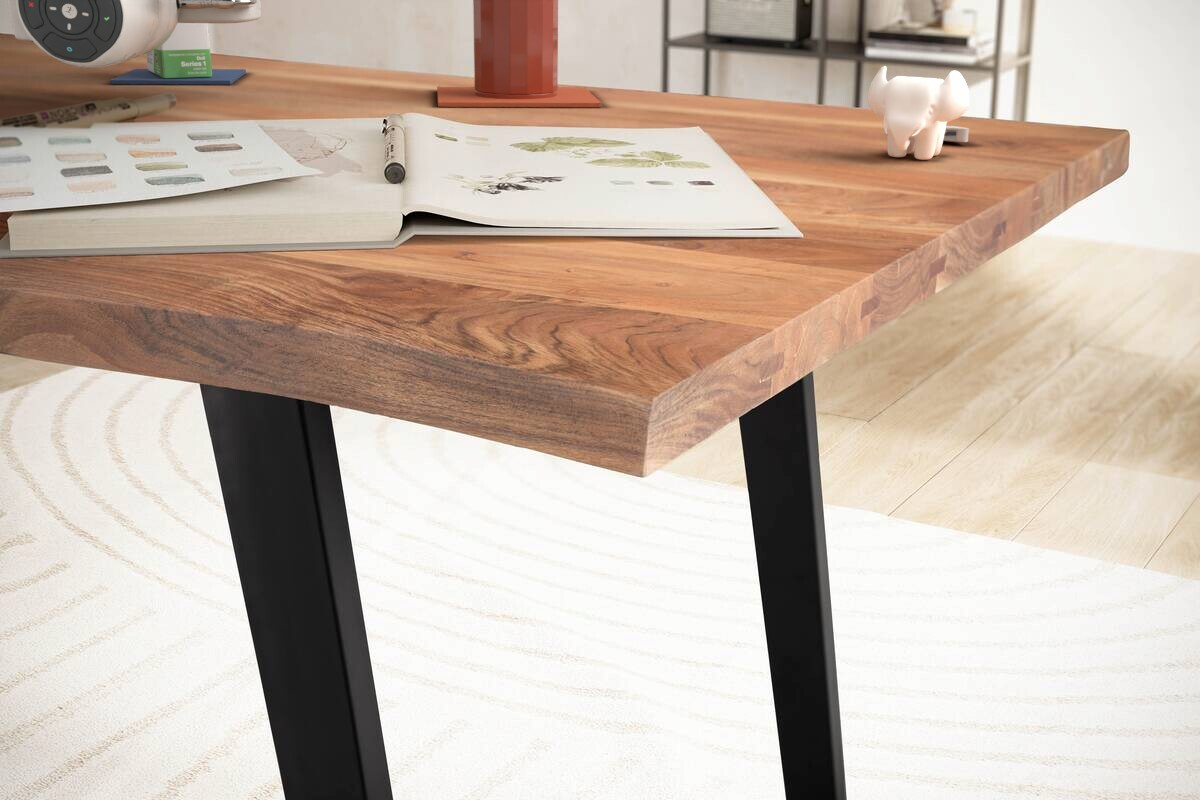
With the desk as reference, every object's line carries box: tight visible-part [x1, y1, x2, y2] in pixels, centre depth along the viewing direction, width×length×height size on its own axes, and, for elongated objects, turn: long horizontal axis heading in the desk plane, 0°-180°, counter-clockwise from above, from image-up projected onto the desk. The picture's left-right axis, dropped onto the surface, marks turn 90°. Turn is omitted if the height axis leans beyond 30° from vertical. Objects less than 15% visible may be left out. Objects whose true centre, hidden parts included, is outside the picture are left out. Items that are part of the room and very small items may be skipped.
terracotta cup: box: [472, 0, 559, 99], centre depth 114 cm, size 7×7×9 cm
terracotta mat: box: [436, 86, 602, 108], centre depth 115 cm, size 14×12×1 cm
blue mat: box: [110, 68, 247, 86], centre depth 126 cm, size 11×11×1 cm
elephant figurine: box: [867, 65, 970, 161], centre depth 86 cm, size 7×8×6 cm
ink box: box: [145, 23, 213, 78], centre depth 124 cm, size 8×5×12 cm, turn 28°
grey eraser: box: [943, 125, 970, 143], centre depth 95 cm, size 6×2×1 cm, turn 24°
